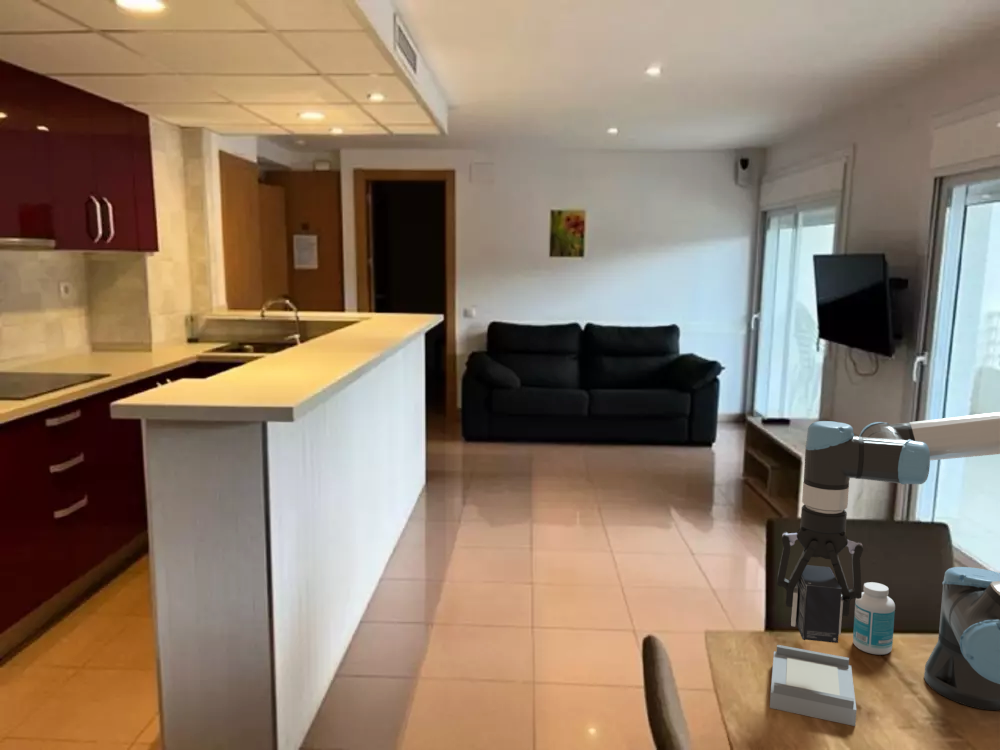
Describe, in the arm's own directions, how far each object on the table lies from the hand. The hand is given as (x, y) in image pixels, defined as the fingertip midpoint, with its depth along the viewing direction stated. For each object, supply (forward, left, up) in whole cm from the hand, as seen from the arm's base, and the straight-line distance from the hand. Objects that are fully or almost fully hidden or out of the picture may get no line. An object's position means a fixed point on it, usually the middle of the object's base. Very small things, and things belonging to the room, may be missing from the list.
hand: (815, 626), depth 136 cm
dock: (0, 0, -13) cm, 13 cm away
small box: (0, 0, -1) cm, 1 cm away
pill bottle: (-12, -24, -13) cm, 30 cm away
